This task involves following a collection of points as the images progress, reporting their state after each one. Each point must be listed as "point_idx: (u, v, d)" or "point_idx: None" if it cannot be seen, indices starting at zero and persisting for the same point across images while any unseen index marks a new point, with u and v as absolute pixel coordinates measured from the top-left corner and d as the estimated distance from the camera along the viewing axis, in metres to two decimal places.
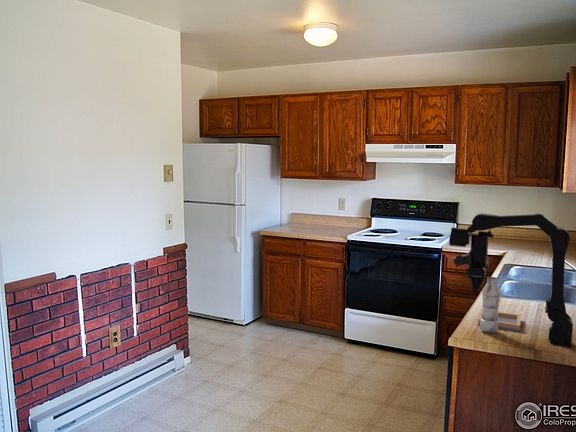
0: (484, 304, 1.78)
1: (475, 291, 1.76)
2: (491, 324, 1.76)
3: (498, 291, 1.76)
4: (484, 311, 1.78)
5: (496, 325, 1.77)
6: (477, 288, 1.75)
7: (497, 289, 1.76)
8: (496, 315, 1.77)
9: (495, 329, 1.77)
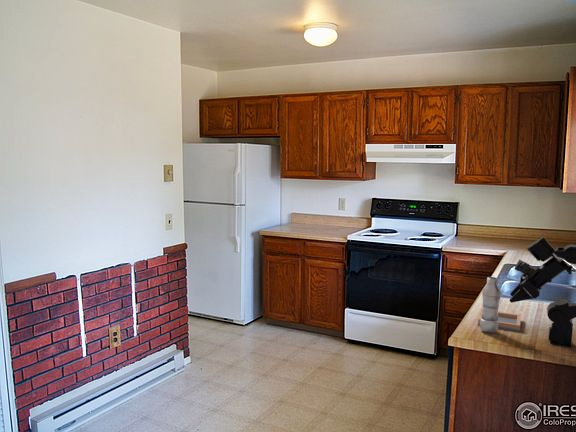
0: (484, 304, 1.78)
1: (512, 300, 1.71)
2: (491, 324, 1.76)
3: (498, 291, 1.76)
4: (484, 311, 1.78)
5: (496, 325, 1.77)
6: (516, 300, 1.70)
7: (497, 289, 1.76)
8: (496, 315, 1.77)
9: (495, 329, 1.77)
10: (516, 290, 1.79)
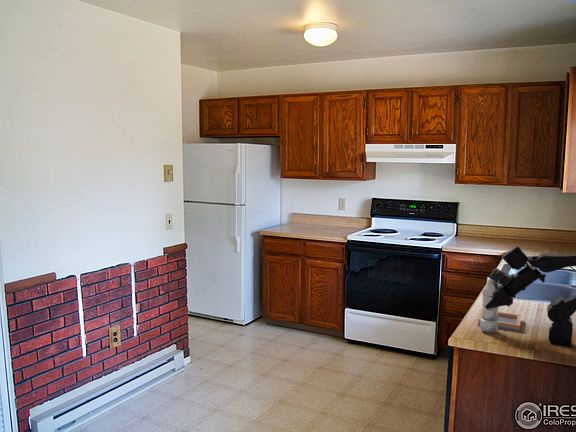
0: (484, 304, 1.78)
1: (487, 307, 1.76)
2: (491, 324, 1.76)
3: None
4: (484, 311, 1.78)
5: (496, 325, 1.77)
6: (491, 306, 1.75)
7: None
8: (496, 315, 1.77)
9: (495, 329, 1.77)
10: None
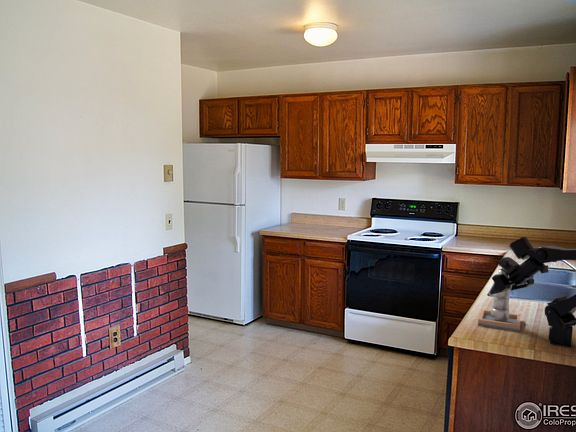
0: None
1: (491, 292, 1.87)
2: (497, 313, 1.87)
3: None
4: None
5: (503, 315, 1.86)
6: (494, 292, 1.85)
7: None
8: (504, 305, 1.86)
9: (501, 318, 1.87)
10: None
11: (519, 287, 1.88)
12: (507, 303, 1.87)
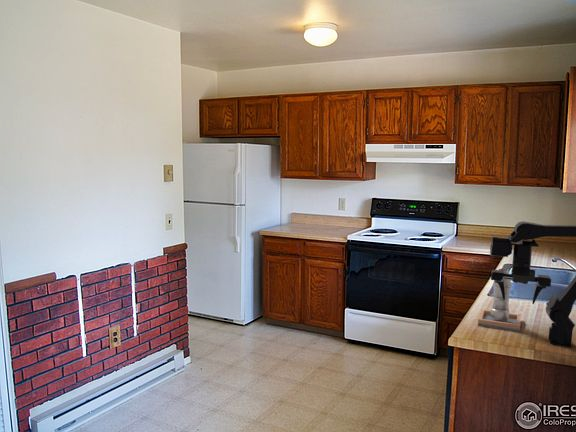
0: (494, 293, 1.89)
1: (534, 301, 1.70)
2: (497, 312, 1.87)
3: (505, 282, 1.85)
4: None
5: (503, 315, 1.87)
6: None
7: (504, 280, 1.86)
8: (503, 305, 1.87)
9: (501, 318, 1.87)
10: (504, 292, 1.74)
11: (504, 283, 1.76)
12: (507, 303, 1.87)
